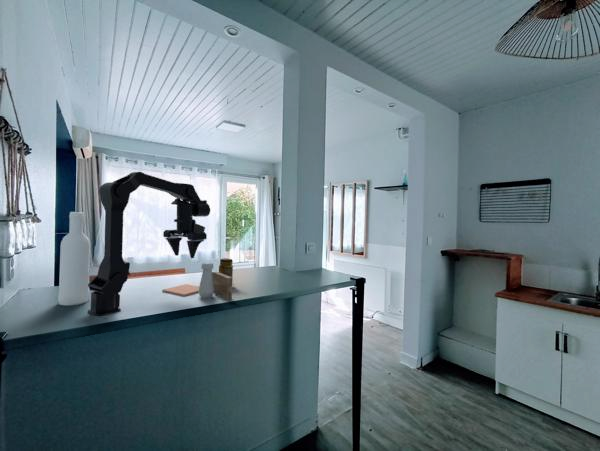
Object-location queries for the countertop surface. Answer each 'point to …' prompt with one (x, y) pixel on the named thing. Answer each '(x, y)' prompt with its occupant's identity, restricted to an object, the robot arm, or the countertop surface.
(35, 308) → the countertop surface
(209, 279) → the salt shaker
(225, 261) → the condiment
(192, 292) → the terracotta mat
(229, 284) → the walnut backboard
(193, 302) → the countertop surface
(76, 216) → the bottle
